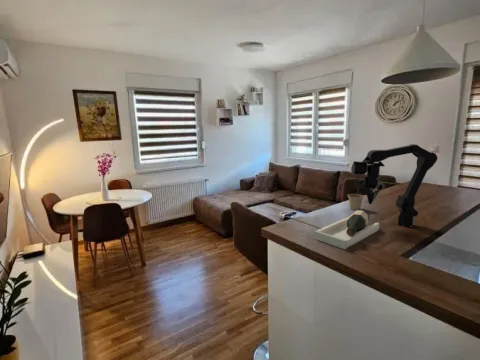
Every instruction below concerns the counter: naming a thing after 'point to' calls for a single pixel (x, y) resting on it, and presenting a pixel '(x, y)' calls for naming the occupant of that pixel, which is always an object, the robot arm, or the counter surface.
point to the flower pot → (355, 201)
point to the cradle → (343, 234)
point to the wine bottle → (357, 221)
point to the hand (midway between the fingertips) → (370, 203)
